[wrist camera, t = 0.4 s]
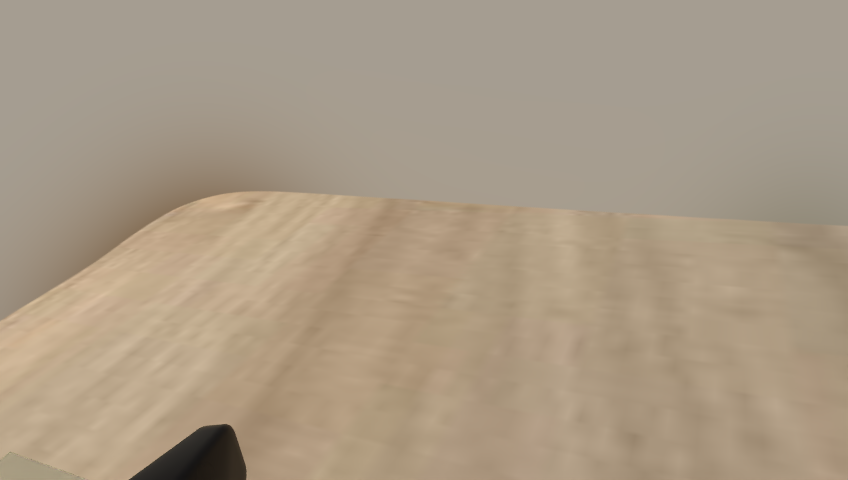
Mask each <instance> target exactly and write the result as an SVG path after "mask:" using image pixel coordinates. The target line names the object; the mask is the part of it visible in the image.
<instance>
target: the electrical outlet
mask: <svg viewBox="0 0 848 480" xmlns="http://www.w3.org/2000/svg"><path fill="white" fill-rule="evenodd" d="M0 480H88V479H85V478H82V477H79V476H76V475H74V474H71V473H68V472H65V471H62V470H60V469H57V468H54V467H51V466H48V465H46V464H43V463H40V462H37V461H35V460H32V459H29V458H26V457H23V456H21V455H18V454H15V453H12V452H9V453H8V454H7V455H6V456H4V457H3V458H2V459H1V460H0Z"/></svg>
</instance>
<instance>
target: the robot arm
mask: <svg viewBox="0 0 848 480" xmlns="http://www.w3.org/2000/svg"><path fill="white" fill-rule="evenodd" d="M129 480H246V466H245V462H244V459H243V456H242V453H241V450H240V447H239V444H238V441H237V437H236V434H235V432H234V430H233V428H232V427H231V426H230V425H227V424H221V425H210V426H204V427H201V428H199V429H198V430H196V431H195V432H194V433H192V434H191V435H190V436H188V437H187V438H185V439H184V440H183V441H181V442H180V443H179V444H177V445H176V446H174V447H173V448H172V449H170V450H169V451H168V452H166V453H165V454H164V455H162V456H161V457H159V458H158V459H157V460H155V461H154V462H153V463H151V464H150V465H148V466H147V467H146V468H144V469H143V470H142V471H140V472H139V473H137V474H136V475H135V476H133V477H132V478H131V479H129Z"/></svg>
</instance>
